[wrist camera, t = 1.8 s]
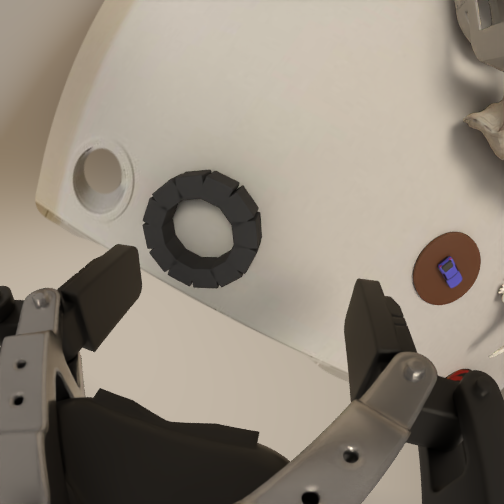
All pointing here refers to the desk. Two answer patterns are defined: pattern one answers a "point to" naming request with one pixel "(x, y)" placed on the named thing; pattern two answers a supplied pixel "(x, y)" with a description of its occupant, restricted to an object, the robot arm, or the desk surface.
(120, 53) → the desk surface
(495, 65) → the cable organizer
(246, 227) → the dark grey segmented ring
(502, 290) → the dragon
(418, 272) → the round brown coaster
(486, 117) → the seashell
